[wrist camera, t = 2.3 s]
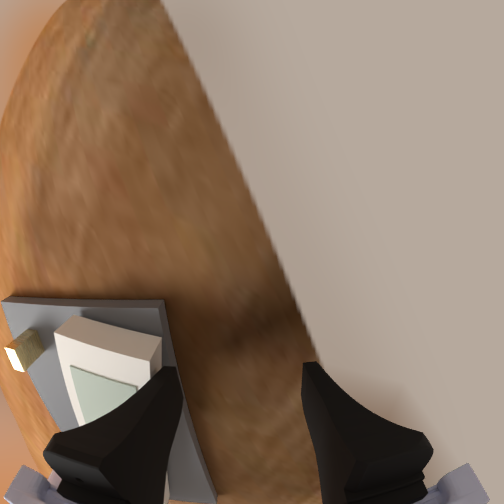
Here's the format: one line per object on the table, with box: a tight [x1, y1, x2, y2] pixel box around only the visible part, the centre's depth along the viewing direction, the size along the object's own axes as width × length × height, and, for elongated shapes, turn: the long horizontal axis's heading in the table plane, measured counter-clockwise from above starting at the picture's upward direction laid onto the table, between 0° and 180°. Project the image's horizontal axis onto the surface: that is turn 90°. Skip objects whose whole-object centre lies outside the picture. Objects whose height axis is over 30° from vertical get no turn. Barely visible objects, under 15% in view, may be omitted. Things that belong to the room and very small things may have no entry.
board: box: [1, 296, 217, 504], centre depth 14 cm, size 21×12×4 cm, turn 3°
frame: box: [54, 315, 170, 504], centre depth 13 cm, size 18×5×2 cm, turn 171°
